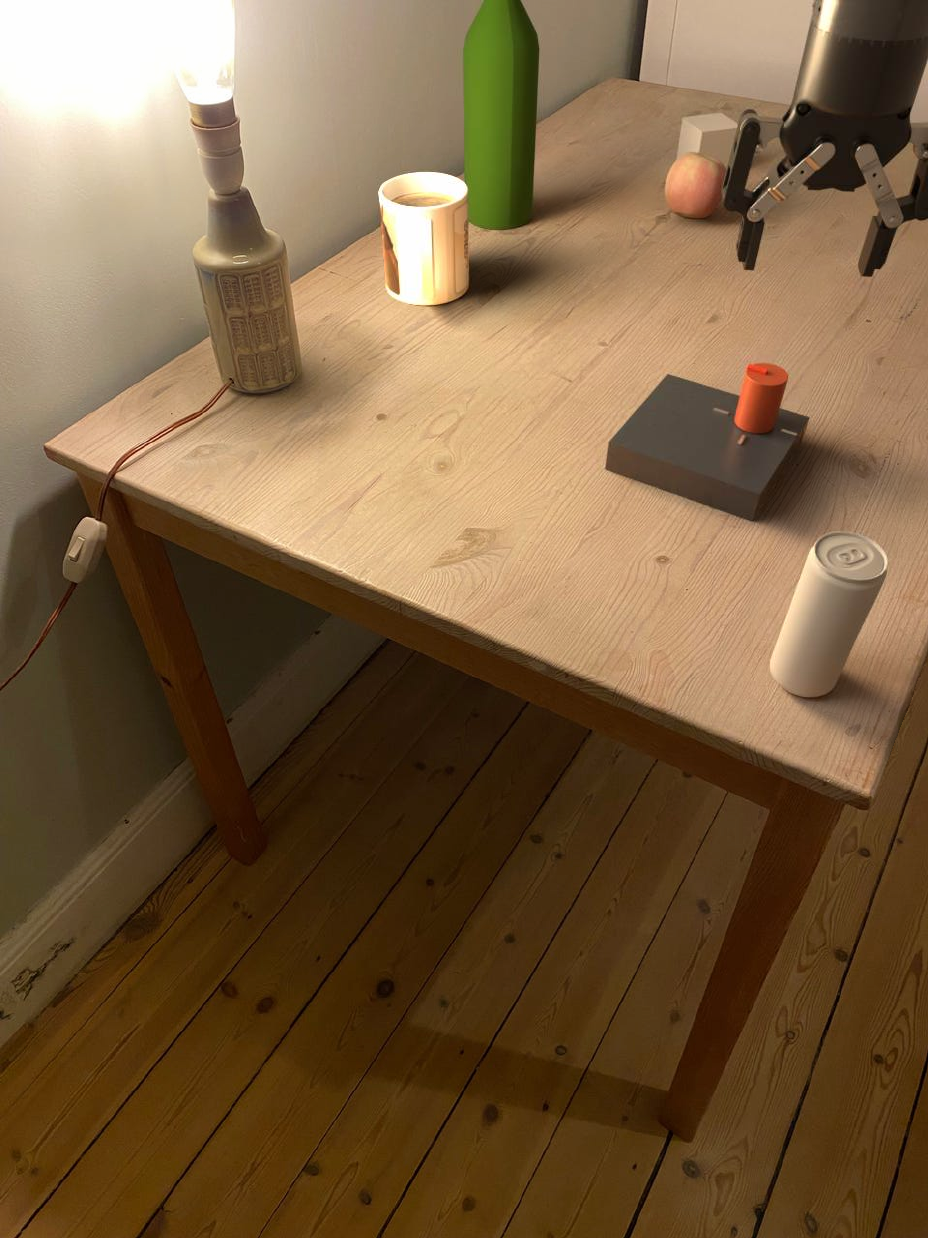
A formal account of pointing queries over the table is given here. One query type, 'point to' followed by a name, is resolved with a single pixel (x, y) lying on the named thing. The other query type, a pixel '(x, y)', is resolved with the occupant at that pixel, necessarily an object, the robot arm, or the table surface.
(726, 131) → the white block
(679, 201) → the apple
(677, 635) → the table surface
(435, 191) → the mug
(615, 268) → the table surface
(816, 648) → the beverage can
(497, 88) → the wine bottle
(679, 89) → the table surface
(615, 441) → the base block
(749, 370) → the control knob
